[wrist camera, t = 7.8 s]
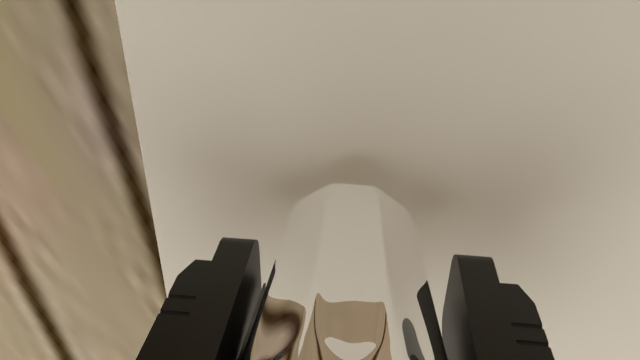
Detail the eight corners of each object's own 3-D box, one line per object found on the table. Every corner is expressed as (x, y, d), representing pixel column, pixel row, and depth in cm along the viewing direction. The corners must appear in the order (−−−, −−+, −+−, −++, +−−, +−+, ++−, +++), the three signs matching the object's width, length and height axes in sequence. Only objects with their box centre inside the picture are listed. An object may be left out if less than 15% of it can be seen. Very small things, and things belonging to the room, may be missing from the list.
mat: (115, -62, 13) (104, -59, 12) (845, -41, 11) (868, -37, 11) (195, 421, 22) (191, 434, 21) (603, 461, 21) (609, 477, 20)
